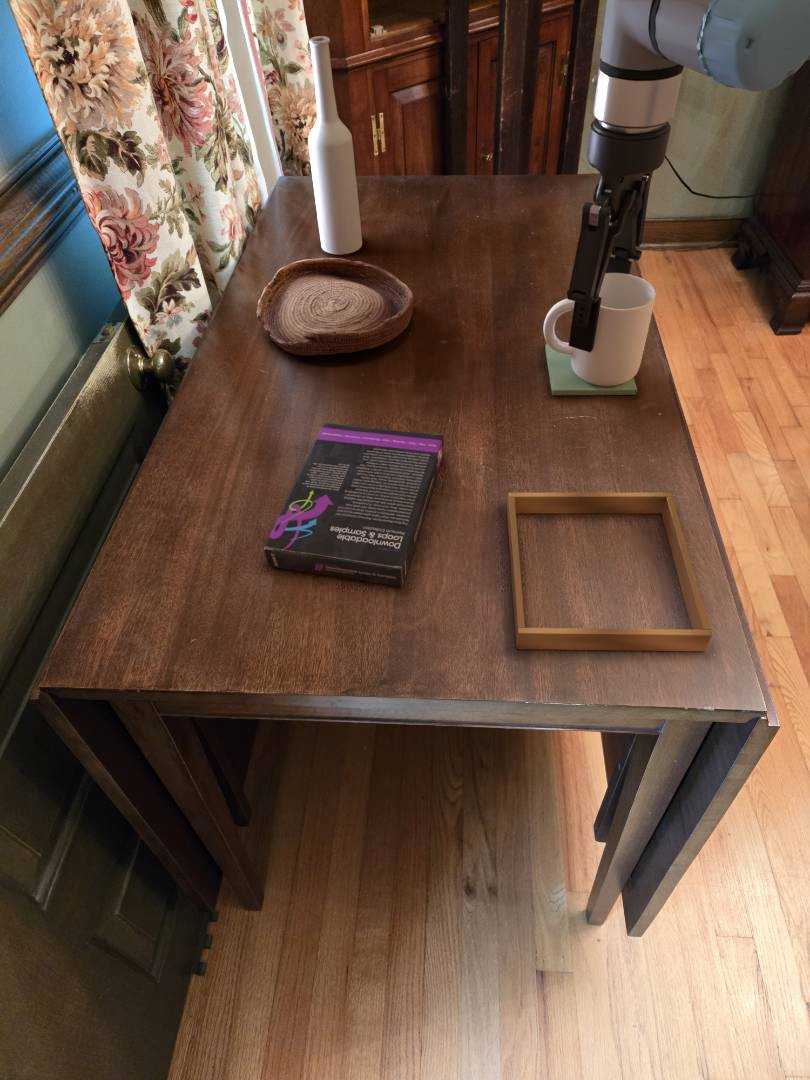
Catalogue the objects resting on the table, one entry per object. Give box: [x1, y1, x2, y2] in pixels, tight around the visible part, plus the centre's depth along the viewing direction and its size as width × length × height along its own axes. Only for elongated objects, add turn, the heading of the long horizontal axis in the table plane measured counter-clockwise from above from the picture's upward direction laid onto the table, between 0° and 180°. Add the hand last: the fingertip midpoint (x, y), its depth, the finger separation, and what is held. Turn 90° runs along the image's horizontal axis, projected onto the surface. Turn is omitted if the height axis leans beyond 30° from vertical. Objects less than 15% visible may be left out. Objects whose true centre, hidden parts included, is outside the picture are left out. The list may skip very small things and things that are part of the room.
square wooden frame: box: [506, 492, 713, 652], centre depth 68 cm, size 16×17×2 cm
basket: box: [256, 257, 415, 357], centre depth 99 cm, size 22×20×5 cm
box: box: [263, 422, 445, 588], centre depth 75 cm, size 14×4×20 cm
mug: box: [542, 273, 657, 386], centre depth 86 cm, size 12×8×10 cm
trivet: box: [544, 343, 638, 396], centre depth 90 cm, size 10×10×1 cm
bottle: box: [307, 35, 363, 256], centre depth 106 cm, size 7×7×28 cm
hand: (595, 328), depth 86 cm, fingers closed on mug, 8 cm apart
